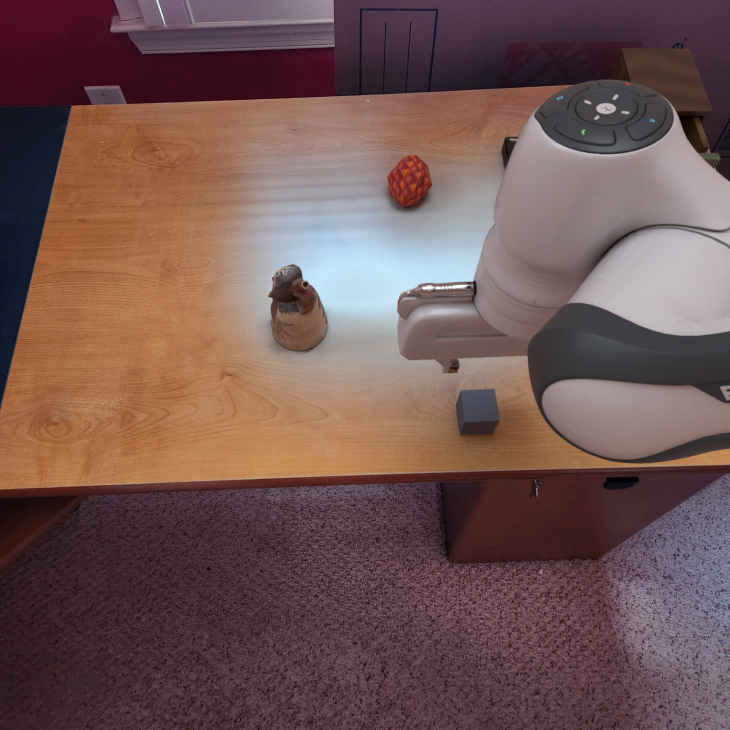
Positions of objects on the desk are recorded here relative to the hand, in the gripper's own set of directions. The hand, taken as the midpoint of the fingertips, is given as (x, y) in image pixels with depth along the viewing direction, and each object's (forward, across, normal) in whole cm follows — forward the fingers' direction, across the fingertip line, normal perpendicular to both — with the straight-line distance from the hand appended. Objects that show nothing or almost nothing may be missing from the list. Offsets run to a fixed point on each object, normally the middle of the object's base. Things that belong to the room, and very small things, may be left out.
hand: (495, 365), depth 57 cm
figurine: (+14, -21, +14) cm, 28 cm away
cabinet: (+13, +32, +46) cm, 58 cm away
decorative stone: (+14, -5, +36) cm, 39 cm away
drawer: (+12, +31, +35) cm, 49 cm away
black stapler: (+13, +11, +36) cm, 40 cm away
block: (+13, 0, 0) cm, 13 cm away
